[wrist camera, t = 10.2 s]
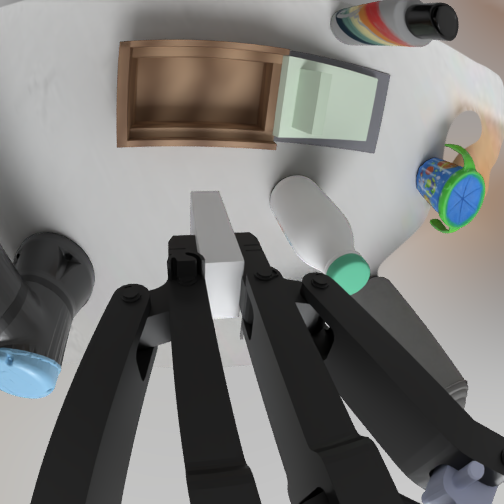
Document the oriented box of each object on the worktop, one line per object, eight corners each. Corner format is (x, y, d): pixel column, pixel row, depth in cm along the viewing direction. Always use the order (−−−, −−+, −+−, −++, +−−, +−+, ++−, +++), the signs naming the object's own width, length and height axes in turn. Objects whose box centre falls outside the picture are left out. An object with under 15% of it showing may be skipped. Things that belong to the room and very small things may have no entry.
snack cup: (437, 214, 54) (469, 241, 46) (398, 214, 52) (431, 244, 44) (456, 140, 46) (495, 159, 37) (417, 131, 44) (458, 151, 36)
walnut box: (127, 134, 37) (116, 147, 31) (131, 45, 30) (119, 41, 25) (262, 136, 41) (275, 150, 35) (273, 51, 34) (289, 49, 28)
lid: (272, 135, 35) (297, 145, 32) (283, 55, 30) (311, 57, 27) (360, 138, 43) (384, 149, 40) (371, 77, 38) (398, 83, 34)
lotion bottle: (337, 2, 31) (434, -19, 15) (370, 21, 33) (474, 18, 16) (324, 34, 34) (419, 27, 17) (358, 52, 35) (460, 62, 19)
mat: (269, 140, 41) (269, 140, 41) (281, 49, 34) (281, 49, 34) (373, 153, 45) (374, 153, 45) (389, 75, 38) (390, 75, 38)
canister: (383, 313, 67) (457, 438, 39) (335, 320, 65) (405, 465, 37) (401, 268, 61) (498, 401, 32) (350, 273, 58) (446, 432, 30)
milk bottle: (259, 192, 45) (303, 277, 29) (304, 164, 44) (373, 234, 28) (284, 228, 50) (332, 319, 33) (325, 203, 48) (391, 282, 32)
